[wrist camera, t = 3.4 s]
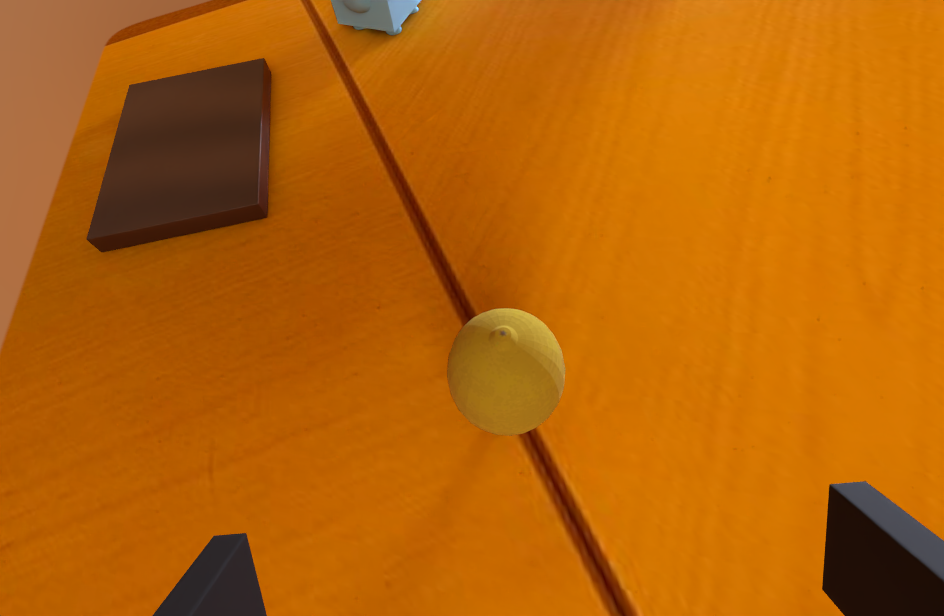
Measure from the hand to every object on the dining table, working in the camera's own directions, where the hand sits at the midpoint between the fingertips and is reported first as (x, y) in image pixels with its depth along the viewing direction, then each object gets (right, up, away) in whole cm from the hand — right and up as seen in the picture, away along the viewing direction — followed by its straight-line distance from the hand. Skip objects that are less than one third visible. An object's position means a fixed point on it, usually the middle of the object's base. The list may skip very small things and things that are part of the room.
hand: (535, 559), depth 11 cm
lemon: (+1, 0, +16) cm, 16 cm away
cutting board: (-24, +18, +29) cm, 42 cm away
